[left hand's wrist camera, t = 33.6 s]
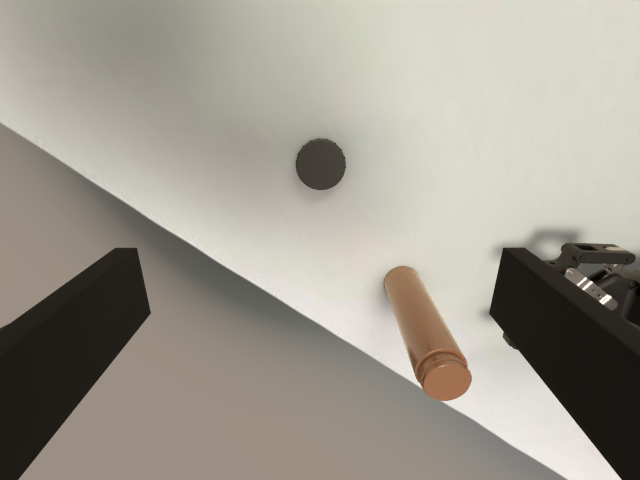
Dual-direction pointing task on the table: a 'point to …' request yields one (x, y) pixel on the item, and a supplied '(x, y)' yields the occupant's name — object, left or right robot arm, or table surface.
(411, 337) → the bottle
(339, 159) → the lid
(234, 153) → the table surface
